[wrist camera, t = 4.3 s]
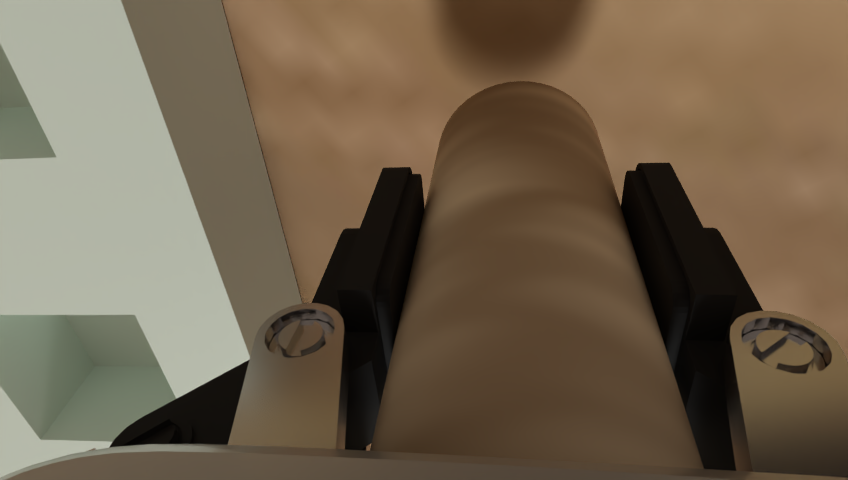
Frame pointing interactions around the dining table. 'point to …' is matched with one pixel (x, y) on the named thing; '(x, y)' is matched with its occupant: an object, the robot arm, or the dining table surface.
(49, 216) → the hole block
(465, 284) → the pin
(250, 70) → the dining table surface
